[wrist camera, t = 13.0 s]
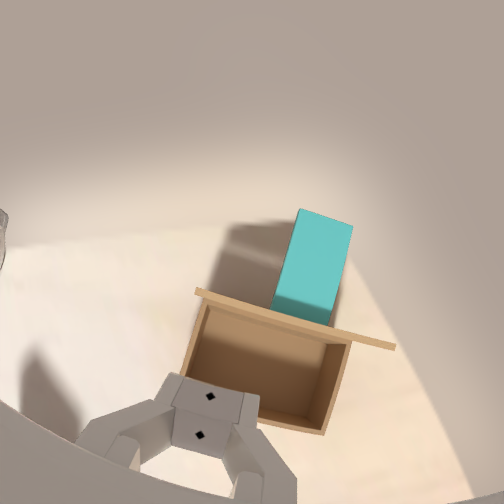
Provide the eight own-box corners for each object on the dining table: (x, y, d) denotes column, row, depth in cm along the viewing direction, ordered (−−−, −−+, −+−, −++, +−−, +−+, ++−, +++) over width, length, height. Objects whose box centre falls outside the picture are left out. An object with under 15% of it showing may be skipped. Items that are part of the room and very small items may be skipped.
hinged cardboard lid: (194, 294, 24) (232, 180, 26) (207, 296, 36) (233, 216, 37) (394, 350, 24) (418, 243, 26) (350, 338, 36) (370, 260, 37)
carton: (181, 387, 40) (172, 397, 33) (207, 305, 44) (203, 297, 36) (307, 420, 40) (323, 435, 32) (331, 341, 44) (352, 340, 36)
